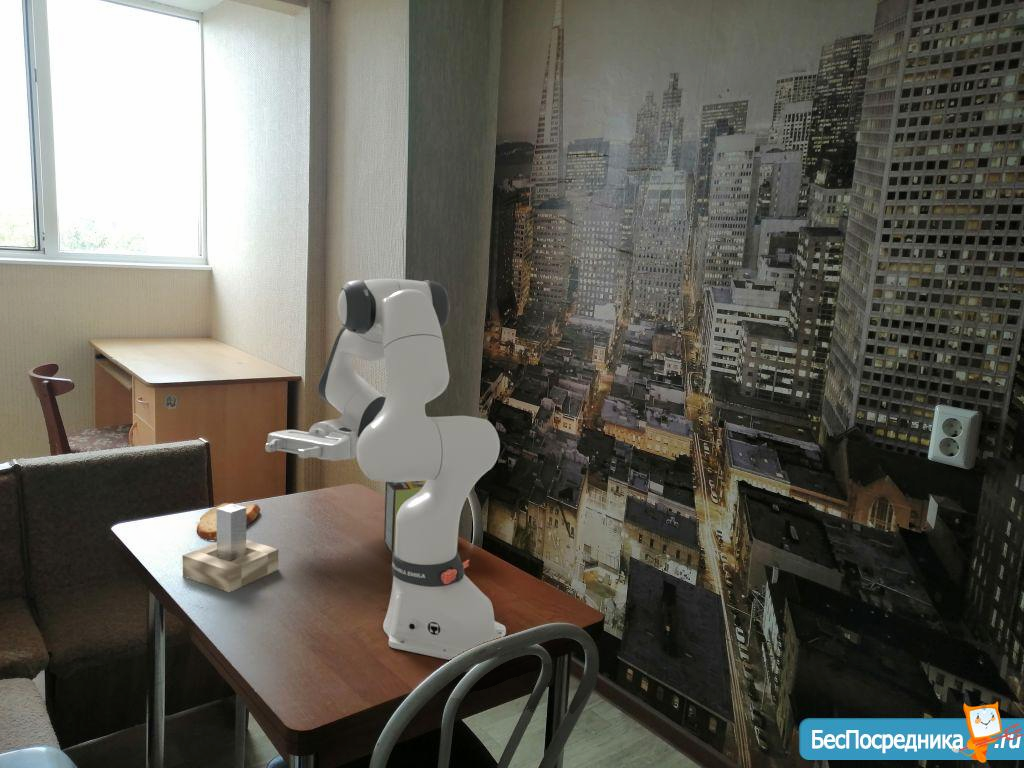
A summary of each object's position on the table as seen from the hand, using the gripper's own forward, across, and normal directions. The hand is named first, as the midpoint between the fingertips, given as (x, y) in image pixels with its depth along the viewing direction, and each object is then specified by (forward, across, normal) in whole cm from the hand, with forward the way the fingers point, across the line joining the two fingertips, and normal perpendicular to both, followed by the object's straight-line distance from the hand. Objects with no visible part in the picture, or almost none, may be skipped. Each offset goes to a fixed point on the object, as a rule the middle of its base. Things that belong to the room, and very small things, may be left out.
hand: (284, 451), depth 163 cm
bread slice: (-5, -22, +23) cm, 32 cm away
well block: (+14, -1, +23) cm, 27 cm away
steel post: (+14, -1, +23) cm, 27 cm away
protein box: (-21, +22, +23) cm, 38 cm away
